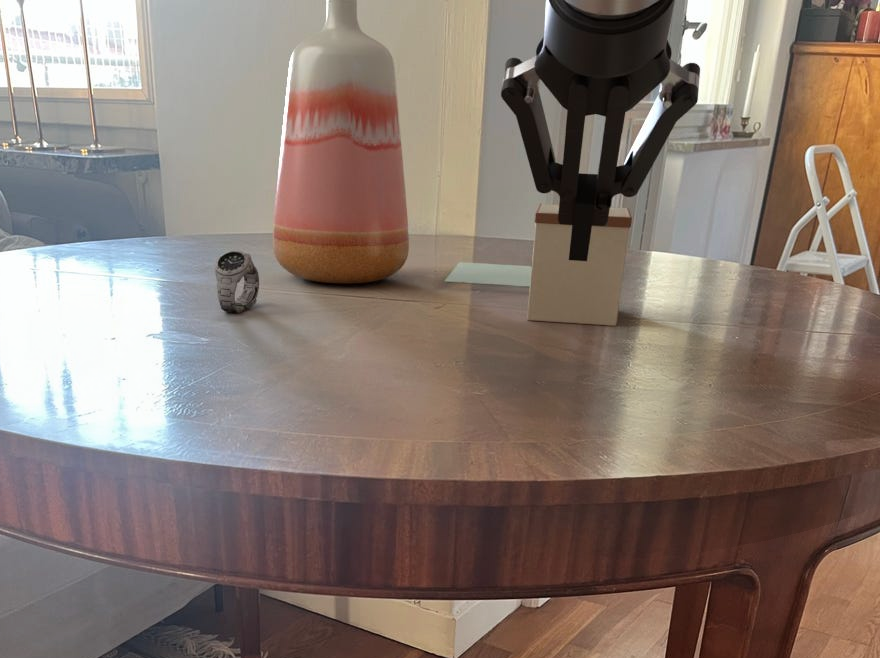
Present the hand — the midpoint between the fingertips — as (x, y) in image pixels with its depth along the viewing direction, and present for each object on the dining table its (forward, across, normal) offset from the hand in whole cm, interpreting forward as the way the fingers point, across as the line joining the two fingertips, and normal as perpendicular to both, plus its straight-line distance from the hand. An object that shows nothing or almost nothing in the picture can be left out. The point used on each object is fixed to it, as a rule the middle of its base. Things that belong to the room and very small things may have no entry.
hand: (579, 246), depth 77 cm
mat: (+27, -5, +17) cm, 32 cm away
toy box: (+12, 0, +2) cm, 12 cm away
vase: (+21, -25, +10) cm, 34 cm away
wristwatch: (+7, -30, -3) cm, 31 cm away
